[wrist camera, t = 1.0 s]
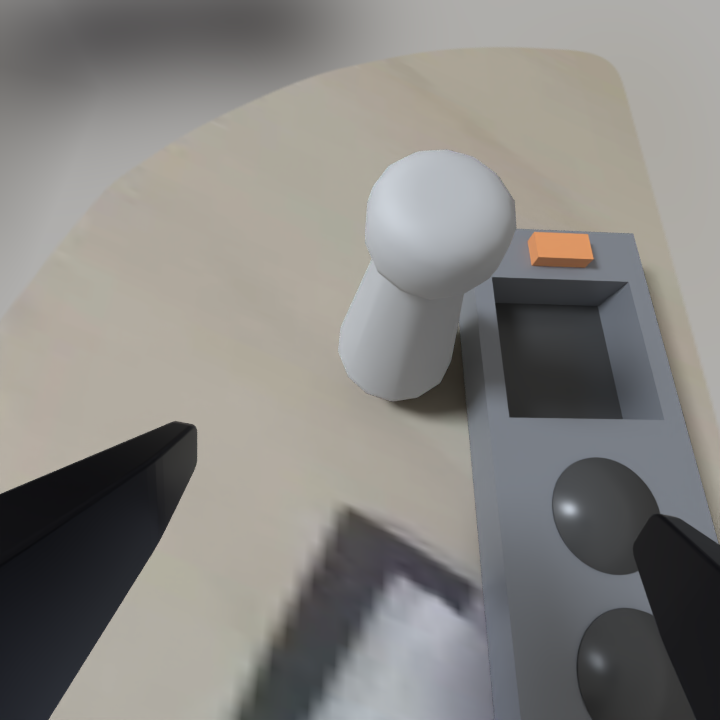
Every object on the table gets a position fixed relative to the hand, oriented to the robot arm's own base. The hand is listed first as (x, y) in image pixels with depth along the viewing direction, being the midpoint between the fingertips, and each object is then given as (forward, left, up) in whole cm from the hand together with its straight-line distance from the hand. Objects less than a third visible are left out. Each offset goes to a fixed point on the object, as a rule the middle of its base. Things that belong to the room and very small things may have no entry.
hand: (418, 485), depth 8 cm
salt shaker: (+7, -1, -13) cm, 15 cm away
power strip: (-1, -10, -13) cm, 17 cm away
